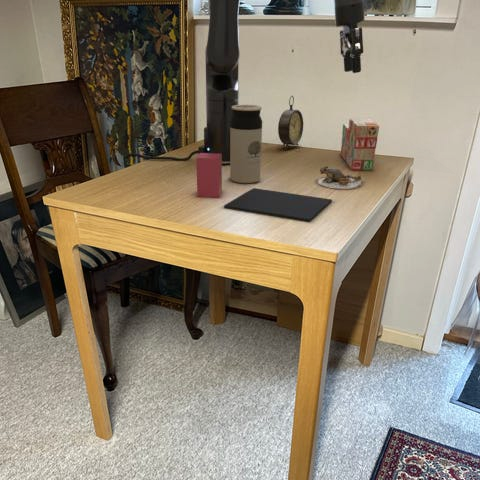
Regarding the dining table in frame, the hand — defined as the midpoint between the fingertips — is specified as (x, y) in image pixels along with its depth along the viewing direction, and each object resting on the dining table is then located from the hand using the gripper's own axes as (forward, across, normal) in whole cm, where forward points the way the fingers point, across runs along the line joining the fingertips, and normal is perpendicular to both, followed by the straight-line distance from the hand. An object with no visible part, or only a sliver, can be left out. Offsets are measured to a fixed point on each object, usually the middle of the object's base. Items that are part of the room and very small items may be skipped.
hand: (352, 72), depth 137 cm
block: (+18, +31, -44) cm, 57 cm away
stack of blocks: (+25, -3, 0) cm, 26 cm away
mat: (+21, +39, -29) cm, 53 cm away
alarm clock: (+22, -25, -17) cm, 37 cm away
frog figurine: (+24, +21, -11) cm, 34 cm away
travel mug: (+20, +18, -35) cm, 44 cm away
